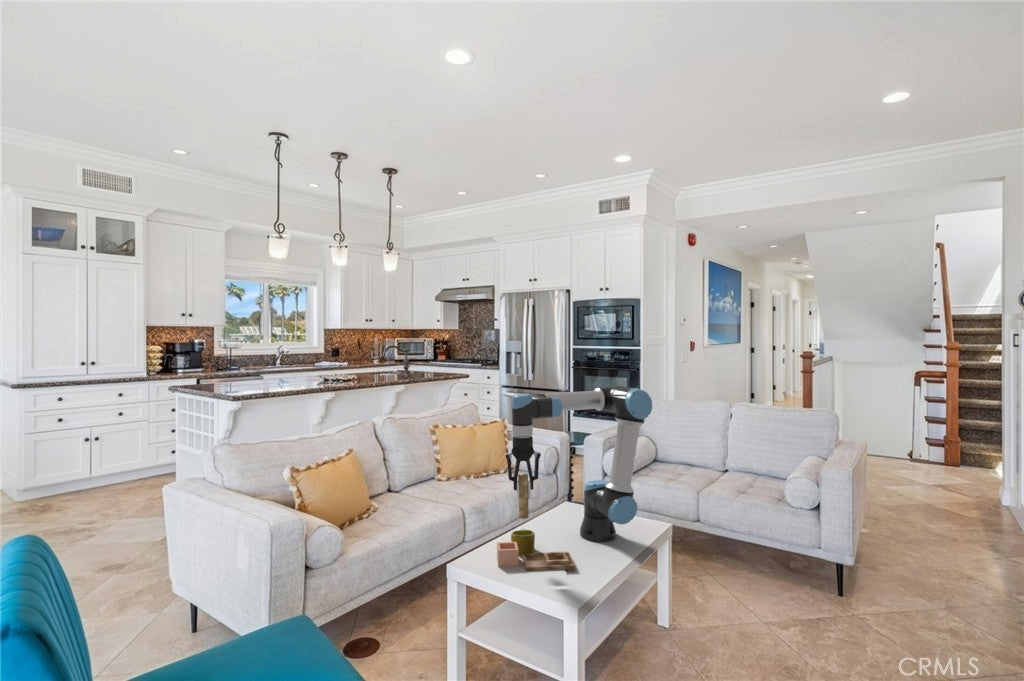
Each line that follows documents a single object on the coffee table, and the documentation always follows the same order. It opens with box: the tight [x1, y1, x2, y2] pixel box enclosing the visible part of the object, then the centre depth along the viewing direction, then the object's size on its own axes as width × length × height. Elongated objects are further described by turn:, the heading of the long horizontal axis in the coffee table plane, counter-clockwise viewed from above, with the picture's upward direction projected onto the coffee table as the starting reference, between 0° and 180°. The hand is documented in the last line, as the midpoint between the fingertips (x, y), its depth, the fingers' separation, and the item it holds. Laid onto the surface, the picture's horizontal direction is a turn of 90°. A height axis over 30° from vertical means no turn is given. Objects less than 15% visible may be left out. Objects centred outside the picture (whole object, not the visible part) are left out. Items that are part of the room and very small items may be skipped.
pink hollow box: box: [496, 541, 520, 568], centre depth 201 cm, size 8×8×7 cm
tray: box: [521, 551, 576, 573], centre depth 200 cm, size 18×12×3 cm, turn 96°
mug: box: [510, 528, 536, 556], centre depth 213 cm, size 12×10×10 cm
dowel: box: [517, 472, 530, 520], centre depth 201 cm, size 4×4×16 cm
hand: (523, 498), depth 201 cm, fingers closed on dowel, 3 cm apart
